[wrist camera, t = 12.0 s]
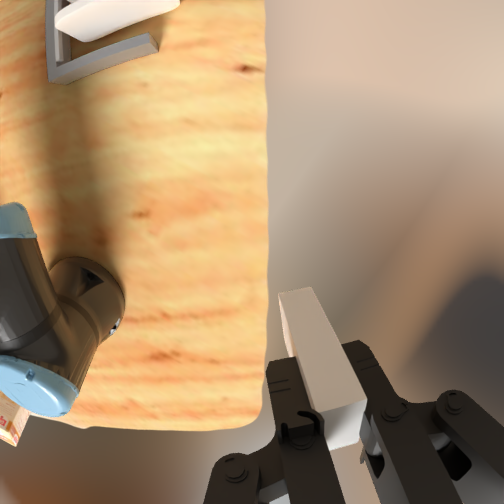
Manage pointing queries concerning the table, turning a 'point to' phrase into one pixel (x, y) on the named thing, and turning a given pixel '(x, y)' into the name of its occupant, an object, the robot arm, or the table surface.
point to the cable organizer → (107, 16)
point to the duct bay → (72, 70)
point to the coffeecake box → (11, 419)
